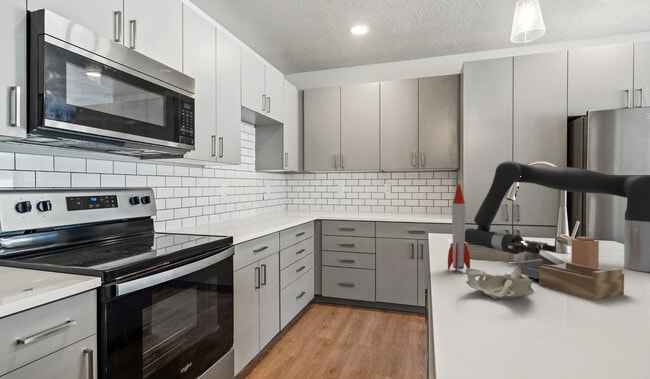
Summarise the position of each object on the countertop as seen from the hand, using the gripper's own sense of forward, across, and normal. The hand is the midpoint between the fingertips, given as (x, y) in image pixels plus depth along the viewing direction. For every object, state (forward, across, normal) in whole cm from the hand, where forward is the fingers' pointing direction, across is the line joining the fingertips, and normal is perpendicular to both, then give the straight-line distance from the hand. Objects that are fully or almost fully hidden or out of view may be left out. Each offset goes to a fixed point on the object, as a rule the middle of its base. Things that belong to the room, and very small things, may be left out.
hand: (547, 250), depth 118 cm
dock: (+19, -15, +6) cm, 25 cm away
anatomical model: (+15, -39, +7) cm, 43 cm away
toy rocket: (-9, -32, +7) cm, 34 cm away
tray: (+11, -15, +5) cm, 19 cm away
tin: (+12, 0, +7) cm, 14 cm away
